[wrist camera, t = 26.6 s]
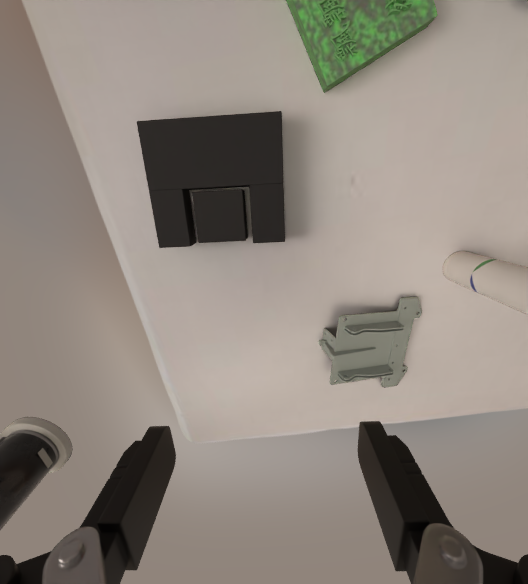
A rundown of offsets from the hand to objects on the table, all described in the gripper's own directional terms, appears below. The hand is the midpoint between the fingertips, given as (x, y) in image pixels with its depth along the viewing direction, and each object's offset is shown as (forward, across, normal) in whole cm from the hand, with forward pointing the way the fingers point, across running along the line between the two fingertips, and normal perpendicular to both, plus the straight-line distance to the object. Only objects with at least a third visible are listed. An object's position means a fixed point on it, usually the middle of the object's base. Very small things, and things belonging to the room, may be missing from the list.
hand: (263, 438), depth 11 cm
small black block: (+28, +6, -8) cm, 29 cm away
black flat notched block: (+28, +6, -12) cm, 31 cm away
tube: (+28, -26, +1) cm, 38 cm away
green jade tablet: (+28, -10, -28) cm, 41 cm away
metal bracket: (+28, -14, +12) cm, 33 cm away
